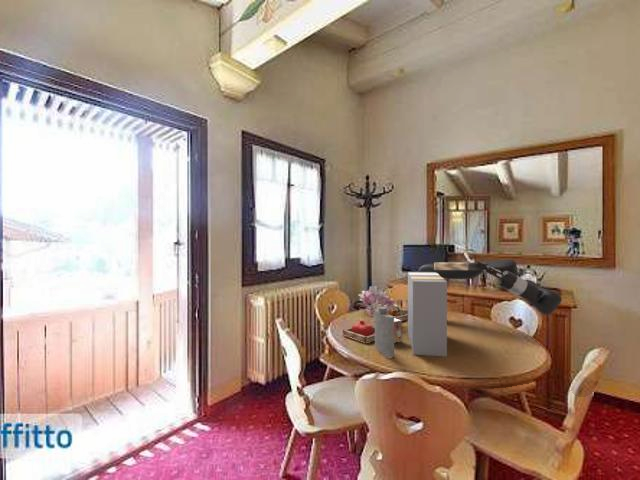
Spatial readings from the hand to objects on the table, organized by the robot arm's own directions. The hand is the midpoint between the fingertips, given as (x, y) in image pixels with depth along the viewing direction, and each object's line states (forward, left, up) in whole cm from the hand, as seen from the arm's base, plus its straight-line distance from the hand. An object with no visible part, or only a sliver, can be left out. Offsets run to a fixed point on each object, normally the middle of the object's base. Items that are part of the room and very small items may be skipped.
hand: (475, 263), depth 149 cm
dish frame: (-46, -22, -39) cm, 64 cm away
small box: (-32, -18, -39) cm, 54 cm away
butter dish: (-47, -23, -40) cm, 66 cm away
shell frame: (-63, +20, -39) cm, 77 cm away
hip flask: (-26, -32, -39) cm, 57 cm away
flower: (-54, -2, -39) cm, 67 cm away
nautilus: (-62, +18, -39) cm, 75 cm away
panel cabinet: (-20, -8, -39) cm, 45 cm away
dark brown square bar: (-5, -4, -3) cm, 7 cm away
